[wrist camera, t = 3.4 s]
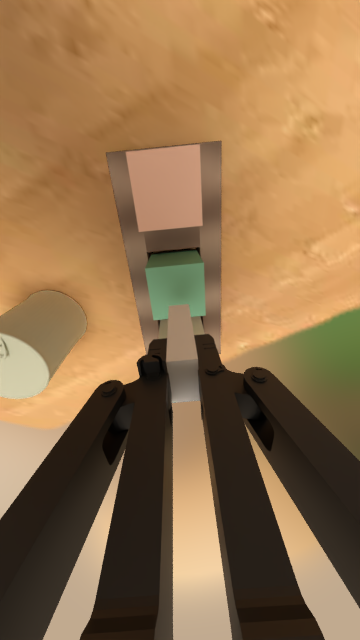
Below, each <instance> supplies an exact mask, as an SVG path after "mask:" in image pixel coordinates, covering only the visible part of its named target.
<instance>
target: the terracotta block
mask: <svg viewBox="0 0 360 640" xmlns="http://www.w3.org/2000/svg"><path fill="white" fill-rule="evenodd" d="M126 157H127V163H128V169H129V175H130V181H131V188H132V194H133V200H134V206H135V212H136V218H137V224H138V230H139V232H144V231H154V230H164V229H174V228H185V227H195V226H203V221H202V192H201V162H200V144H197V145H187V146H178V147H168V148H158V149H148V150H139V151H129V152H126Z"/></svg>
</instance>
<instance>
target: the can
mask: <svg viewBox="0 0 360 640" xmlns="http://www.w3.org/2000/svg"><path fill="white" fill-rule="evenodd" d="M86 328H87V319H86V316H85V313H84V311H83V309H82V308H81V306H80V305H79V304H78V303H77V302H76V301H75V300H73V299H72V298H71V297H69V296H67V295H65V294H63V293H60V292H57V291H51V290H44V291H39V292H36V293H34V294H32V295H30V296H29V297H28V298H27V299H26V300H25V301H23V302H22V303H20V304H19V305H17V306H15V307H14V308H12V309H11V310H9V311H8V312H6V313H4V314H3V315H1V316H0V397H4V398H10V399H23V398H29V397H33V396H35V395H37V394H39V393H41V392H42V391H43V390H44V389H45V388H46V387H47V385H48V383H49V381H50V380H51V378H52V377H53V375H54V374H55V372H56V371H57V369H58V368H59V366H60V365H61V363H62V362H63V361H64V359H65V358H66V356H67V355H68V354H69V352H70V351H71V349H72V348H73V347H74V345H75V344H76V343H77V341H78V340H79V339H80V338H81V337H82V336H83V335H84V333H85V331H86Z"/></svg>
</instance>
